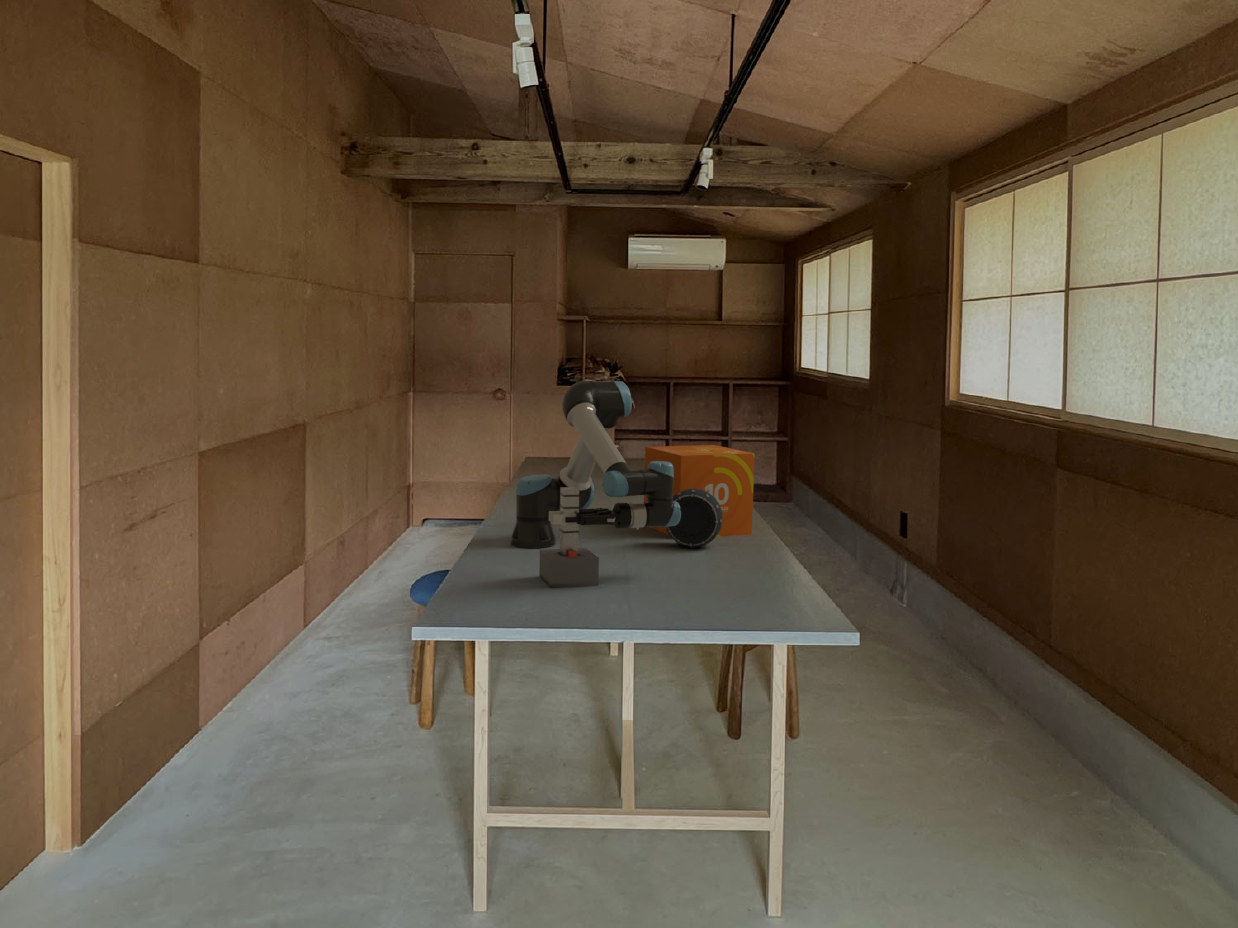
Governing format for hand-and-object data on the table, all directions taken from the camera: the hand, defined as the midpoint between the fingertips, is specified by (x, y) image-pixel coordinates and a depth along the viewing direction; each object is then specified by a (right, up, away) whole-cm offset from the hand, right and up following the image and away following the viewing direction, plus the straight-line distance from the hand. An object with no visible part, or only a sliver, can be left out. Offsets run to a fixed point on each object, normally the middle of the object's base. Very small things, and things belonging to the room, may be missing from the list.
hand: (551, 517), depth 278 cm
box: (+48, -9, +87) cm, 100 cm away
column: (+5, -14, +3) cm, 16 cm away
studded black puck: (+45, -13, +55) cm, 72 cm away
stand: (+5, -18, +4) cm, 19 cm away
